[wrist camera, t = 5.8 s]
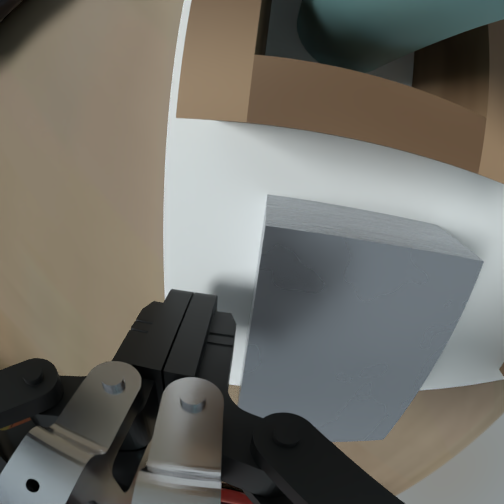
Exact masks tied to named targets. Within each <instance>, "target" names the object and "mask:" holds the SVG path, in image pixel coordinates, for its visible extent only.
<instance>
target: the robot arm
mask: <svg viewBox="0 0 504 504" xmlns="http://www.w3.org/2000/svg"><path fill="white" fill-rule="evenodd" d="M217 302H218V296H217V295H211V294H204V293H197V292H195V293H194V292H190V291H183V290H177V289H171V290H170V292H169V293H168V295H167V297H166V299H165V301H164V303H161V302H155V301H153V302H152V303H150V304H149V305H148V306H146V307H145V308H143V309H142V311H141V312H140V314H139V315H138V317H137V319H136V321H135V322H134V324H133V325H132V327H131V330H129V332H128V334H127V336H126V337H125V339H124V341H123V342H122V344H121V346H120V348H119V349H118V351H117V353H116V354H115V356H114V358H113V360H112V361H109V362H105V363H102V364H99V365H97V366H96V367H94V368H93V369H92V370H91V371H90V372H89V374H88V375H87V376H82V377H79V376H59V375H58V372H57V370H56V368H55V366H54V365H53V364H52V363H51V362H49V361H47V360H45V359H40V358H34V359H29V360H26V361H23V362H21V363H18V364H15V365H13V366H10V367H7V368H5V369H2V370H0V429H1V428H4V427H6V426H9V425H12V424H14V423H17V422H19V421H22V420H24V419H27V418H29V417H30V418H31V420H30V421H27V422H25V423H22V424H20V425H17V426H15V427H12V428H10V429H7V430H0V504H221V481H223V482H226V483H228V484H230V485H233V486H235V487H238V488H240V489H242V490H243V492H244V493H245V495H246V496H247V497H248V498H249V499H250V501H251V502H252V503H253V504H404V503H403V502H402V501H401V500H399V499H398V498H397V497H396V496H394V495H393V494H392V493H391V492H389V491H388V490H387V489H386V488H384V487H383V486H382V485H381V484H379V483H378V482H377V481H376V480H375V479H373V478H372V477H371V476H370V475H369V474H367V473H366V472H365V471H364V470H363V469H361V468H360V467H359V466H358V465H357V464H356V463H354V462H353V461H352V460H351V459H350V458H349V457H347V456H346V455H345V454H344V453H343V452H342V451H341V450H340V449H338V448H337V447H336V446H335V445H334V444H333V443H332V442H331V441H330V440H328V439H327V438H326V437H325V436H324V435H323V434H322V433H321V432H320V431H319V430H318V429H317V428H315V427H314V426H313V425H312V424H311V423H310V422H309V421H308V420H306V419H305V418H303V417H301V416H299V415H296V414H293V413H287V412H280V413H274V414H270V415H268V416H266V417H264V418H262V417H259V416H256V415H254V414H251V413H248V412H246V411H244V410H242V409H241V408H239V407H238V406H237V405H236V404H235V403H234V402H233V401H232V400H231V398H230V396H229V394H228V387H229V380H230V373H231V366H232V359H233V351H234V342H235V333H236V325H237V324H236V322H235V320H234V318H233V315H232V313H227V312H219V311H217ZM147 460H148V461H147ZM146 462H147V464H146ZM145 465H146V466H145ZM144 467H145V468H144Z"/></svg>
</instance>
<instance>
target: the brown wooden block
mask: <svg viewBox="0 0 504 504" xmlns="http://www.w3.org/2000/svg"><path fill="white" fill-rule="evenodd" d="M499 370H500V372H501V373H502V375H503V376H504V362H503V364H502V366H501V367H500V369H499Z"/></svg>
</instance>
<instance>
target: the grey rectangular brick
mask: <svg viewBox="0 0 504 504" xmlns="http://www.w3.org/2000/svg"><path fill="white" fill-rule="evenodd" d="M483 263H484V261H483V260H482V259H480V258H479V257H478V256H477V255H476V254H474V253H473V252H472V251H471V250H469V249H468V248H467V247H466V246H464V245H463V244H462V243H460V242H459V241H458V240H457V239H455V238H454V237H453V236H451V235H450V234H449V233H447V232H446V231H445V230H443V229H442V228H441V227H439V226H438V225H436V224H431V223H427V222H422V221H417V220H413V219H408V218H403V217H398V216H393V215H388V214H383V213H378V212H373V211H368V210H362V209H357V208H351V207H346V206H340V205H334V204H328V203H322V202H316V201H310V200H303V199H297V198H290V197H283V196H276V195H269V194H267V199H266V207H265V214H264V221H263V228H262V235H261V242H260V249H259V256H258V263H257V270H256V277H255V284H254V291H253V298H252V305H251V312H250V319H249V326H248V332H247V339H246V346H245V353H244V359H243V366H242V373H241V380H240V388H239V396H238V404H237V406H238V407H239V408H241V409H242V410H244V411H246V412H248V413H251V414H254V415H256V416H259V417H262V418H264V417H266V416H268V415H270V414H274V413H280V412H287V413H293V414H296V415H299V416H301V417H303V418H305V419H306V420H308V421H309V422H310V423H311V424H312V425H313V426H314V427H315V428H317V429H318V430H319V431H320V432H321V433H322V434H323V435H324V436H325V437H326V438H327V439H328V440H330V441H331V442H347V441H368V440H382V439H384V438H385V437H386V435H387V434H388V433H389V432H390V430H391V429H392V428H393V426H394V425H395V424H396V422H397V421H398V420H399V418H400V417H401V416H402V414H403V413H404V412H405V410H406V409H407V407H408V406H409V404H410V403H411V402H412V400H413V399H414V397H415V396H416V394H417V393H418V391H419V390H420V388H421V387H422V385H423V383H424V382H425V380H426V379H427V377H428V375H429V374H430V372H431V371H432V369H433V367H434V366H435V364H436V362H437V360H438V359H439V357H440V355H441V353H442V352H443V350H444V348H445V346H446V344H447V342H448V341H449V339H450V337H451V335H452V333H453V331H454V329H455V327H456V325H457V323H458V321H459V319H460V317H461V315H462V313H463V311H464V308H465V306H466V304H467V302H468V300H469V297H470V295H471V293H472V290H473V288H474V286H475V283H476V281H477V278H478V276H479V273H480V271H481V268H482V265H483Z"/></svg>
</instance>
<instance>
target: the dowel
mask: <svg viewBox="0 0 504 504" xmlns="http://www.w3.org/2000/svg"><path fill="white" fill-rule="evenodd" d="M503 19H504V0H302V1H301V5H300V9H299V13H298V18H297V32H298V35H299V38H300V41H301V43H302V44H303V46H304V48H305V49H306V50H307V52H308V53H309V54H310V55H311V56H312V57H313V58H314V59H315V60H317V61H318V62H319V63H321V64H326V65H331V66H336V67H341V68H345V69H350V70H354V71H358V72H362V73H367V72H370V71H373V70H375V69H377V68H379V67H381V66H383V65H385V64H387V63H390V62H392V61H394V60H396V59H398V58H401V57H403V56H405V55H407V54H410V53H412V52H414V51H417V50H419V49H421V48H424V47H426V46H429V45H431V44H434V43H436V42H439V41H441V40H444V39H446V38H449V37H452V36H454V35H457V34H460V33H463V32H465V31H468V30H471V29H474V28H477V27H480V26H483V25H486V24H489V23H493V22H496V21H499V20H503Z"/></svg>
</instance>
